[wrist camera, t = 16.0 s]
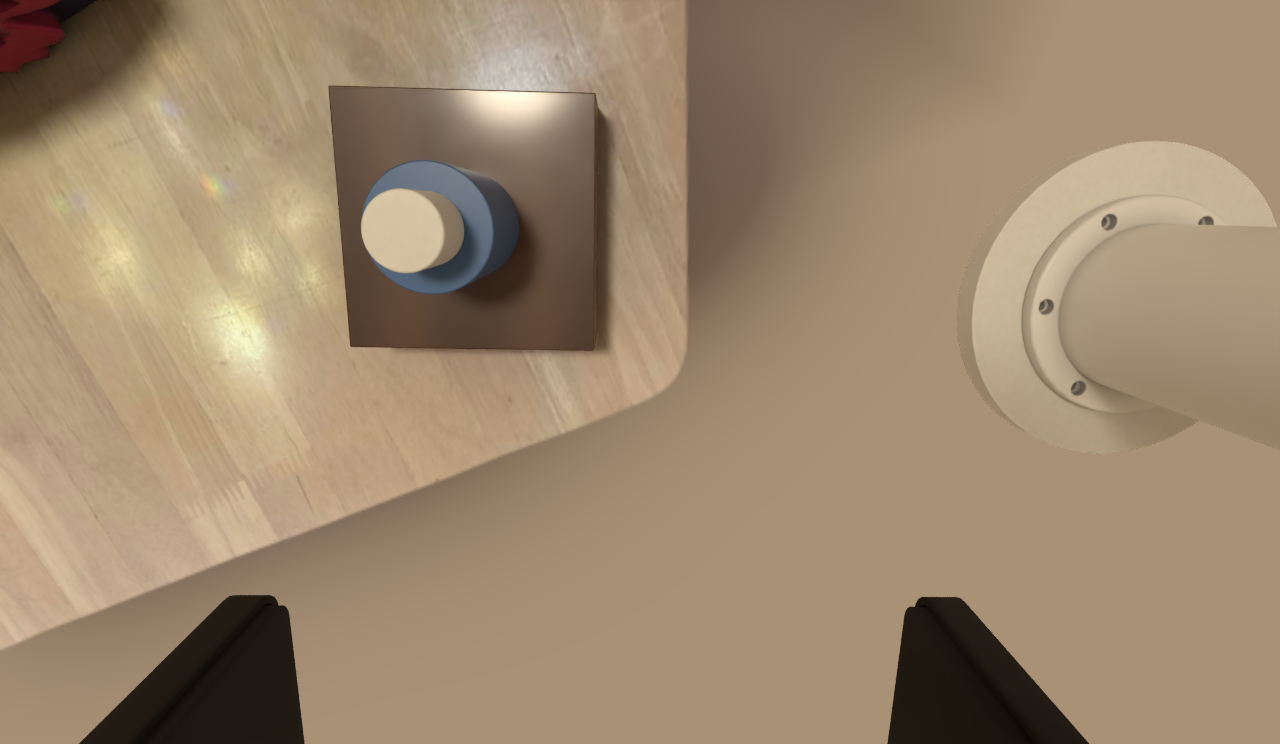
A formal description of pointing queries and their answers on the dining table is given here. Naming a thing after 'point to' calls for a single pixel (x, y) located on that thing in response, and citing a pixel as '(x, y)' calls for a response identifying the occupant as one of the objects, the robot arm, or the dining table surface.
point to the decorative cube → (32, 29)
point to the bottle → (438, 226)
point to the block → (529, 172)
